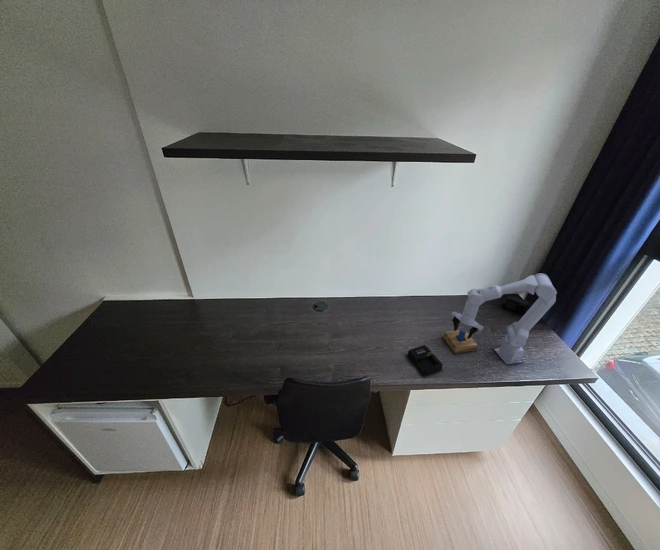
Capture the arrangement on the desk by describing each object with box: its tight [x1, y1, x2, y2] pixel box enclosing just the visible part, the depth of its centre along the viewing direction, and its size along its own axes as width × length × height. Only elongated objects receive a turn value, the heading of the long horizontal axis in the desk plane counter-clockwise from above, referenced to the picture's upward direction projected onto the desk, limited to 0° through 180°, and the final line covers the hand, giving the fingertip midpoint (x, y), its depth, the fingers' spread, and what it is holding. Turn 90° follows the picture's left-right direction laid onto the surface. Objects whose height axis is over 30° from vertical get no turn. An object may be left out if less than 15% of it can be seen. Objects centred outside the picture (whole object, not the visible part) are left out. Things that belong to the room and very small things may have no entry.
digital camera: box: [503, 295, 530, 315], centre depth 168 cm, size 10×5×7 cm, turn 55°
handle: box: [457, 328, 467, 341], centre depth 143 cm, size 3×3×9 cm
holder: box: [442, 329, 478, 354], centre depth 145 cm, size 11×11×4 cm
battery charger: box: [407, 344, 443, 377], centre depth 134 cm, size 13×10×4 cm
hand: (462, 333), depth 142 cm, fingers open, 6 cm apart
